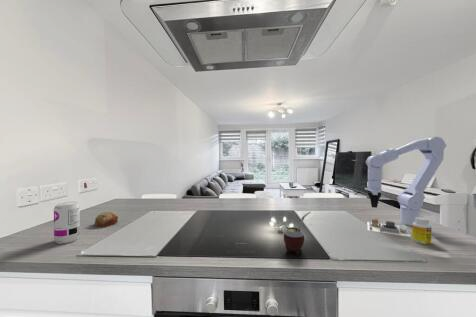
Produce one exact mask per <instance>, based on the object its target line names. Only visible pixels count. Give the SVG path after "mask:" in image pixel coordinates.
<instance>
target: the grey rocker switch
mask: <svg viewBox="0 0 476 317" xmlns="http://www.w3.org/2000/svg"><path fill="white" fill-rule="evenodd" d="M398 226H399V229H400V231H404V232H407V230H408V228H407V225H405V224H402V223H399V224H398Z"/></svg>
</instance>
